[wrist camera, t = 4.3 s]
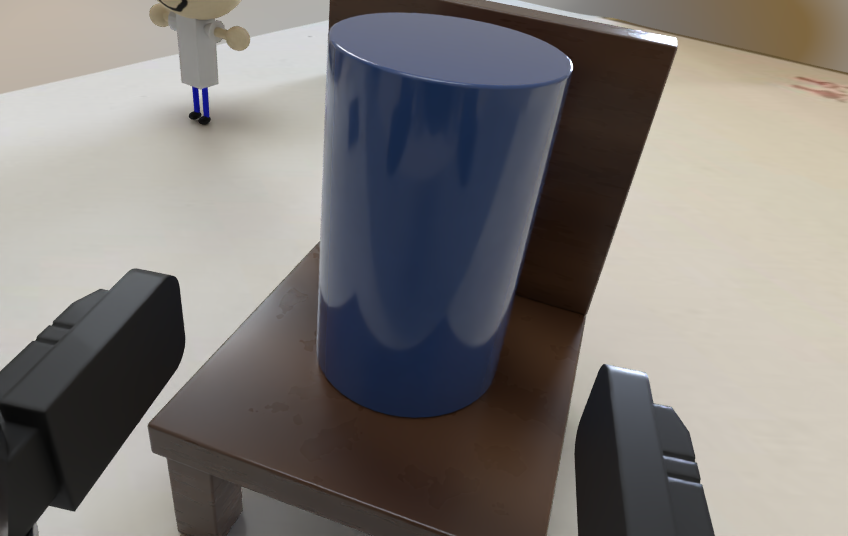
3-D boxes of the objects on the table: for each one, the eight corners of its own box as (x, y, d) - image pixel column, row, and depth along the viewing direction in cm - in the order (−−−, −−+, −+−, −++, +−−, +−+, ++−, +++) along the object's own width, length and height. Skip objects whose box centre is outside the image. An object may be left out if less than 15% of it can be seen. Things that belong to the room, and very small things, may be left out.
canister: (471, 445, 18) (555, 108, 13) (282, 381, 19) (281, 45, 14) (512, 324, 23) (586, 42, 17) (359, 279, 24) (381, 0, 19)
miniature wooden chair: (499, 671, 18) (689, 203, 10) (165, 536, 20) (79, 53, 12) (557, 393, 28) (677, 37, 19) (327, 321, 30) (345, -28, 21)
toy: (126, 115, 46) (91, -126, 38) (194, 94, 51) (177, -123, 43) (215, 151, 43) (198, -102, 35) (278, 125, 48) (278, -102, 40)
